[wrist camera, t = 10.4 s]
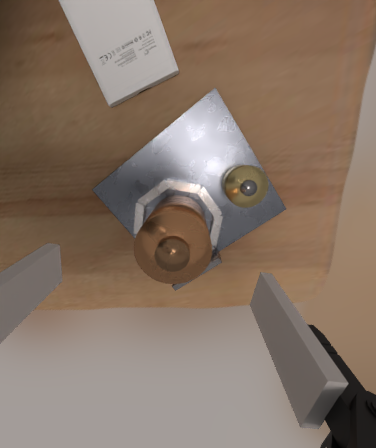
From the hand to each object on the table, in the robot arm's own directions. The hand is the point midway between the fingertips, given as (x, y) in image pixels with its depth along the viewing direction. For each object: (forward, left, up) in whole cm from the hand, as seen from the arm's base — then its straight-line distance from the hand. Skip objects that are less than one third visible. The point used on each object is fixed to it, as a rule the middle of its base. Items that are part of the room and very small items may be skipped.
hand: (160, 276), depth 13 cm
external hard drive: (+7, +19, -14) cm, 25 cm away
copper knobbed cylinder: (0, 0, -13) cm, 13 cm away
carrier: (+3, +1, -13) cm, 14 cm away
